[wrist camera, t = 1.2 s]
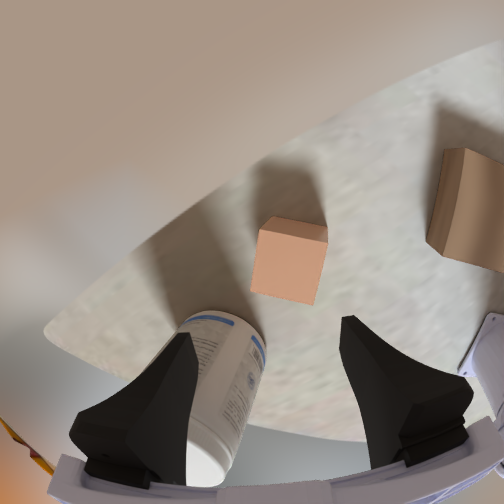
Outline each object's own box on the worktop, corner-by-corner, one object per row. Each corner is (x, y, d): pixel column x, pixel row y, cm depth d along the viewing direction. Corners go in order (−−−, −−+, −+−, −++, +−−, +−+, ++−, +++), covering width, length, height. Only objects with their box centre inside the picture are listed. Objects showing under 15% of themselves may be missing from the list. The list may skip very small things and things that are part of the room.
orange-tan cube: (327, 226, 23) (328, 243, 18) (315, 278, 24) (312, 305, 20) (272, 215, 24) (259, 229, 19) (264, 267, 25) (249, 291, 21)
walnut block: (511, 177, 17) (535, 182, 13) (491, 260, 19) (512, 276, 16) (444, 149, 18) (465, 147, 14) (425, 241, 21) (442, 256, 17)
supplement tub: (171, 347, 31) (97, 437, 17) (203, 288, 27) (109, 387, 14) (242, 392, 30) (196, 497, 17) (288, 341, 27) (251, 472, 13)
